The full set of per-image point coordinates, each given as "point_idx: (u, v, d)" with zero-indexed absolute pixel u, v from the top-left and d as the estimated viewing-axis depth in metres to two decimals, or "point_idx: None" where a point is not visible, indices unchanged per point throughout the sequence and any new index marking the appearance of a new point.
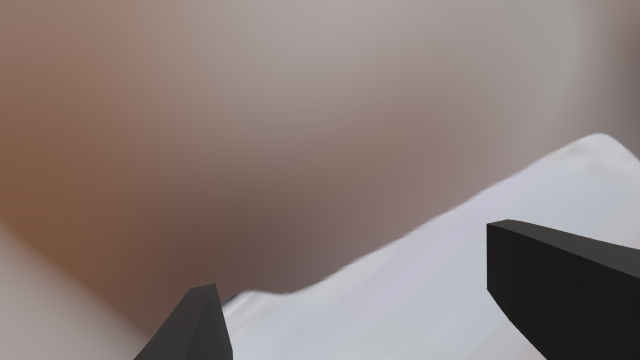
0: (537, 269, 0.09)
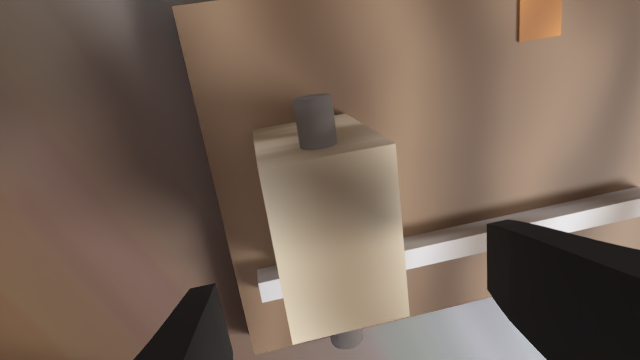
0: (538, 269, 0.09)
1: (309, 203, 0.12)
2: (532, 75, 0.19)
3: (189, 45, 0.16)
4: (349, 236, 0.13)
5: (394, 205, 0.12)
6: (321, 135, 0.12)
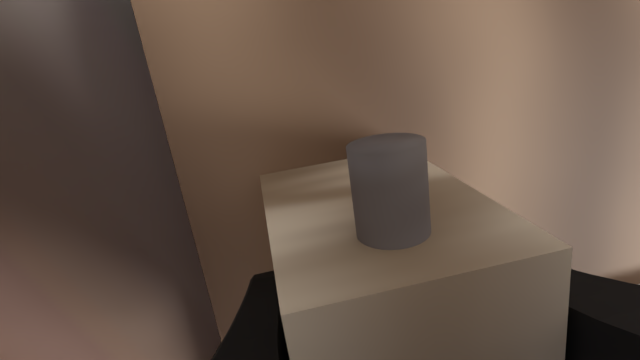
0: None
1: None
2: None
3: (156, 40, 0.09)
4: None
5: None
6: (406, 222, 0.06)
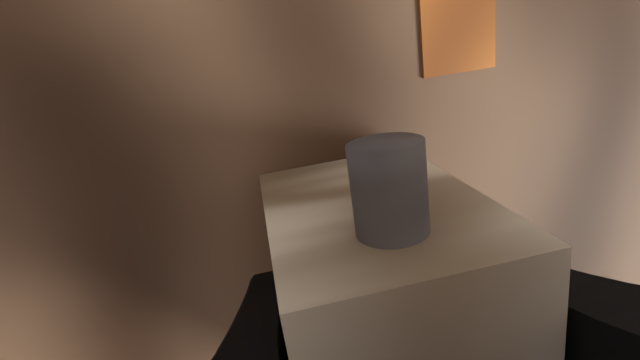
0: None
1: None
2: (451, 131, 0.11)
3: None
4: None
5: None
6: (405, 221, 0.06)
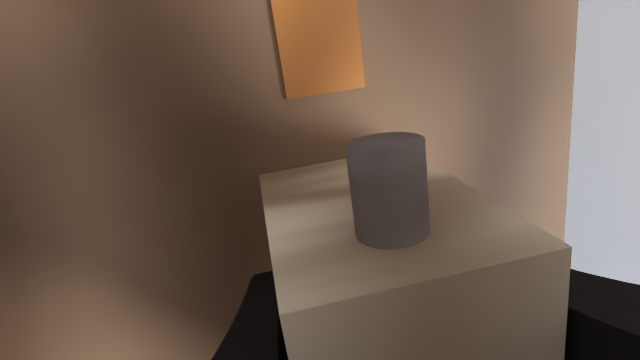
0: None
1: None
2: (324, 153, 0.11)
3: None
4: None
5: None
6: (405, 221, 0.06)
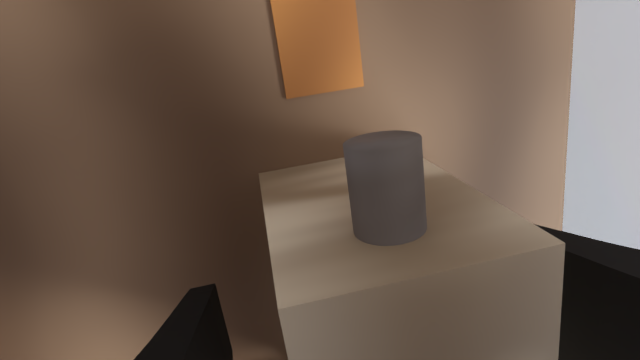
0: None
1: None
2: (323, 152, 0.11)
3: None
4: None
5: (546, 357, 0.06)
6: (402, 218, 0.06)
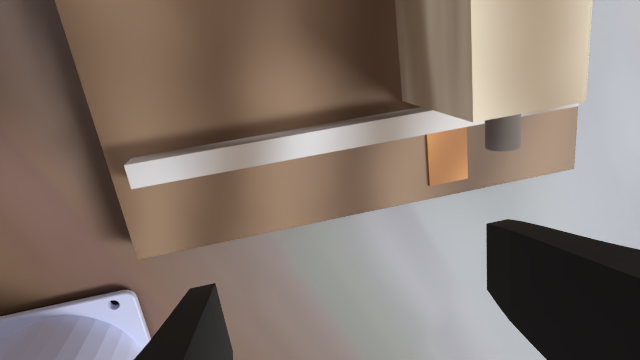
0: (538, 269, 0.09)
1: None
2: None
3: None
4: None
5: None
6: None
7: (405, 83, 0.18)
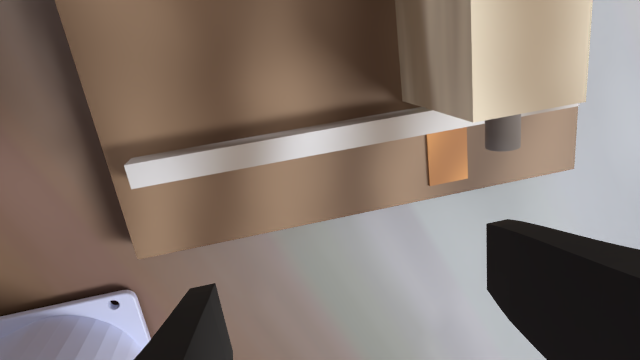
0: (538, 269, 0.09)
1: None
2: None
3: None
4: None
5: None
6: None
7: (405, 83, 0.18)
